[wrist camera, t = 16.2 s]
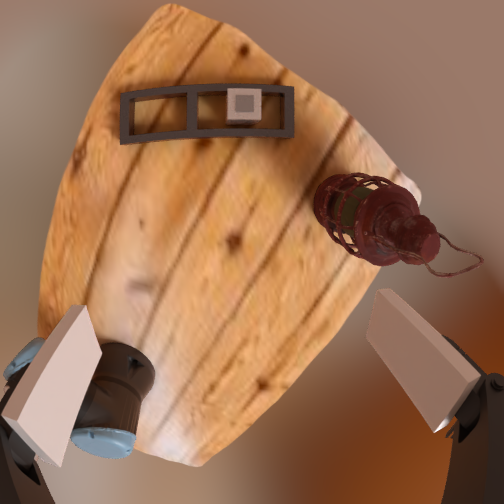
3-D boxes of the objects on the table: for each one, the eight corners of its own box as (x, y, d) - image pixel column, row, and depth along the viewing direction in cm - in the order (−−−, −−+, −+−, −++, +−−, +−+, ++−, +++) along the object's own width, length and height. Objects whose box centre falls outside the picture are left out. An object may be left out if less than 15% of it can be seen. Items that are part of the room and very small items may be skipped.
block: (225, 125, 40) (227, 119, 33) (225, 98, 38) (227, 87, 31) (254, 125, 40) (261, 119, 33) (254, 98, 39) (261, 88, 32)
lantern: (367, 167, 45) (507, 199, 17) (369, 230, 49) (488, 307, 21) (304, 172, 44) (433, 211, 16) (311, 241, 48) (413, 345, 20)
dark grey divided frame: (125, 145, 38) (120, 144, 35) (126, 96, 35) (120, 93, 33) (289, 138, 42) (294, 137, 39) (289, 90, 39) (294, 86, 36)
